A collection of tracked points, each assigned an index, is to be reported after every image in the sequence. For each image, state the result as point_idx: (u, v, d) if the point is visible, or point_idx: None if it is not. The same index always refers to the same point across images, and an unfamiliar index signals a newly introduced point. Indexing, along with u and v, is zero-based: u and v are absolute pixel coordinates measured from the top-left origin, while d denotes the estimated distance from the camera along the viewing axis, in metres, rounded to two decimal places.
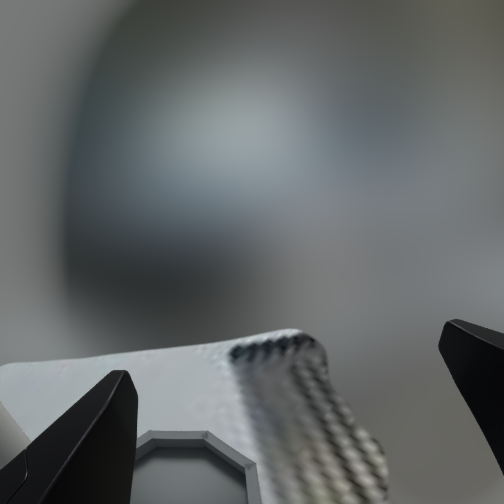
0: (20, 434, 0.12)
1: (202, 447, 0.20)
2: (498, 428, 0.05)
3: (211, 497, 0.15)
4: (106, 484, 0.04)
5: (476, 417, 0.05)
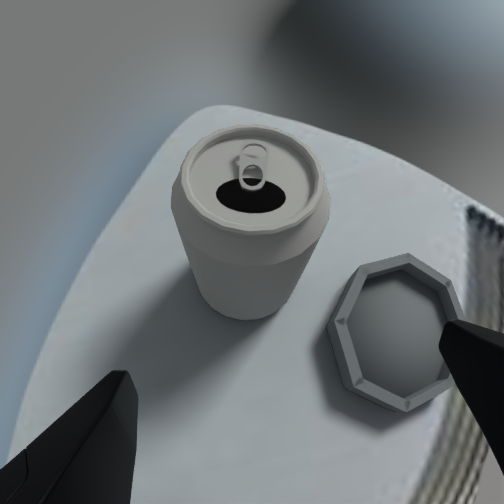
0: None
1: (434, 290, 0.22)
2: (498, 428, 0.05)
3: (425, 342, 0.20)
4: (106, 484, 0.04)
5: (476, 417, 0.05)
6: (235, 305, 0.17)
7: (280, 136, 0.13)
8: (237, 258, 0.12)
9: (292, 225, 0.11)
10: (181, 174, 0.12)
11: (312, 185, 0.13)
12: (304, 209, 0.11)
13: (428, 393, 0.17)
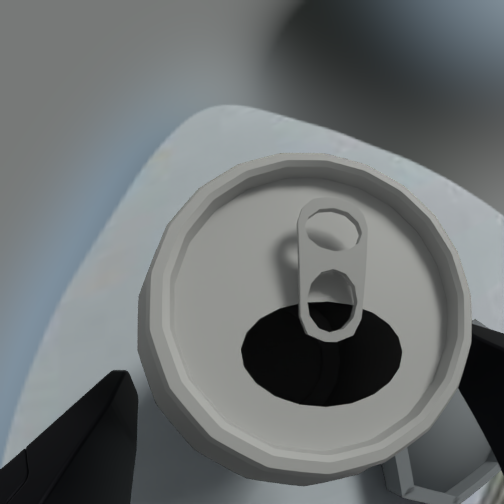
0: None
1: None
2: (498, 428, 0.05)
3: None
4: (106, 484, 0.04)
5: (476, 417, 0.05)
6: None
7: (377, 185, 0.06)
8: (290, 479, 0.04)
9: (420, 434, 0.04)
10: (149, 301, 0.05)
11: (444, 308, 0.05)
12: (444, 390, 0.04)
13: (478, 483, 0.09)
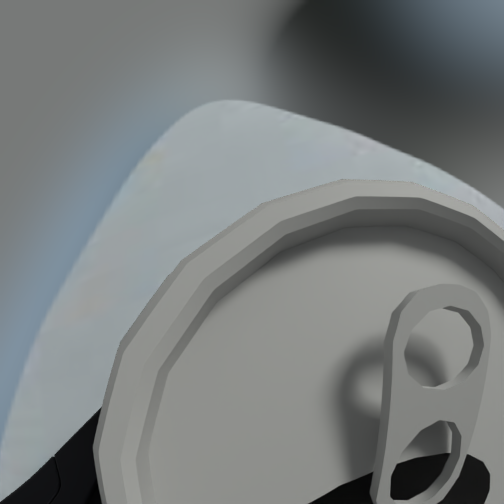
0: None
1: None
2: None
3: None
4: None
5: None
6: None
7: (487, 242, 0.03)
8: None
9: None
10: (105, 498, 0.02)
11: None
12: None
13: None
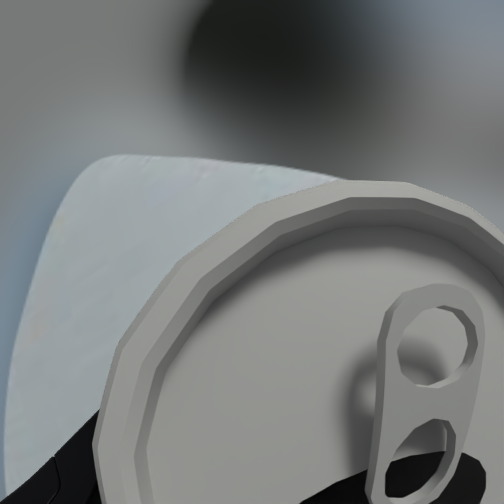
0: None
1: None
2: None
3: None
4: None
5: None
6: None
7: (483, 242, 0.03)
8: None
9: None
10: (103, 494, 0.02)
11: None
12: None
13: None
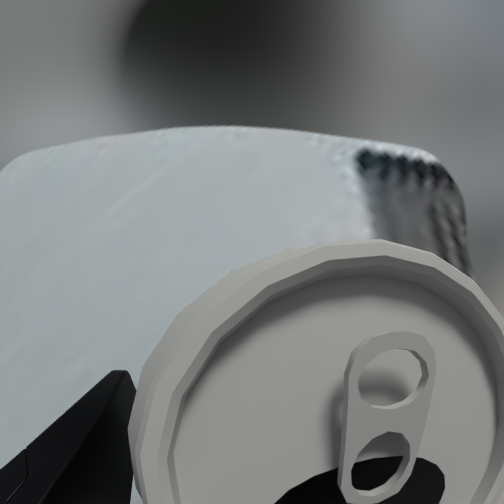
0: None
1: None
2: None
3: None
4: (106, 484, 0.04)
5: None
6: None
7: (446, 286, 0.04)
8: None
9: None
10: (144, 488, 0.03)
11: (494, 427, 0.03)
12: None
13: None
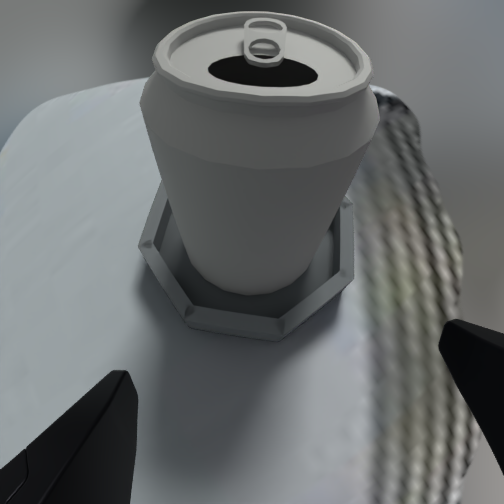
0: None
1: None
2: (498, 428, 0.05)
3: None
4: (106, 484, 0.04)
5: (476, 417, 0.05)
6: (238, 267, 0.12)
7: (299, 22, 0.08)
8: (243, 154, 0.06)
9: (337, 96, 0.06)
10: (156, 49, 0.07)
11: (352, 68, 0.07)
12: (352, 81, 0.06)
13: (312, 300, 0.14)
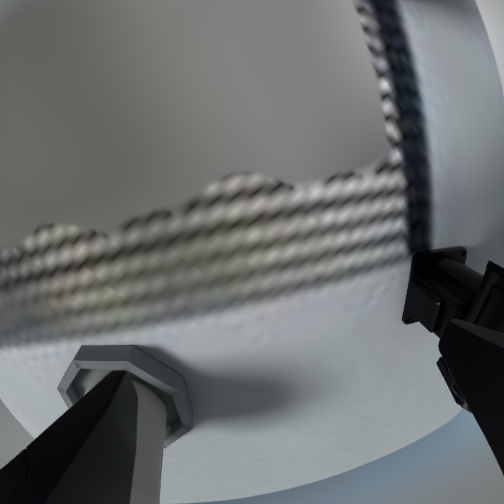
0: None
1: (71, 384, 0.21)
2: (498, 428, 0.05)
3: None
4: (106, 484, 0.04)
5: (476, 417, 0.05)
6: (161, 439, 0.19)
7: None
8: None
9: None
10: None
11: None
12: None
13: (153, 382, 0.20)
